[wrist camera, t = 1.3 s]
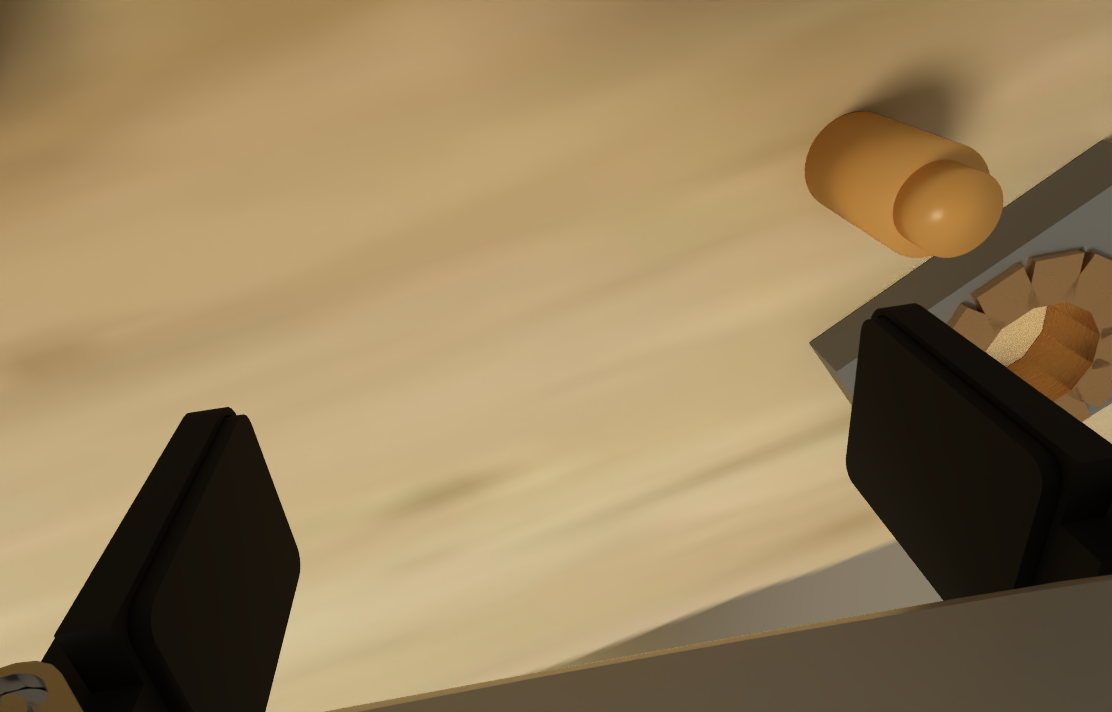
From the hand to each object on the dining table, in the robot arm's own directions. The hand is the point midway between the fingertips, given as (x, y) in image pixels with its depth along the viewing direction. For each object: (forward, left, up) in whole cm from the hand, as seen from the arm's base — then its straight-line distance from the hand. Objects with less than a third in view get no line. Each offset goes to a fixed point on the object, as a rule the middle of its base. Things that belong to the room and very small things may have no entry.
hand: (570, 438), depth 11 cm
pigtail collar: (-14, +24, -22) cm, 35 cm away
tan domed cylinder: (-12, +11, -22) cm, 27 cm away
